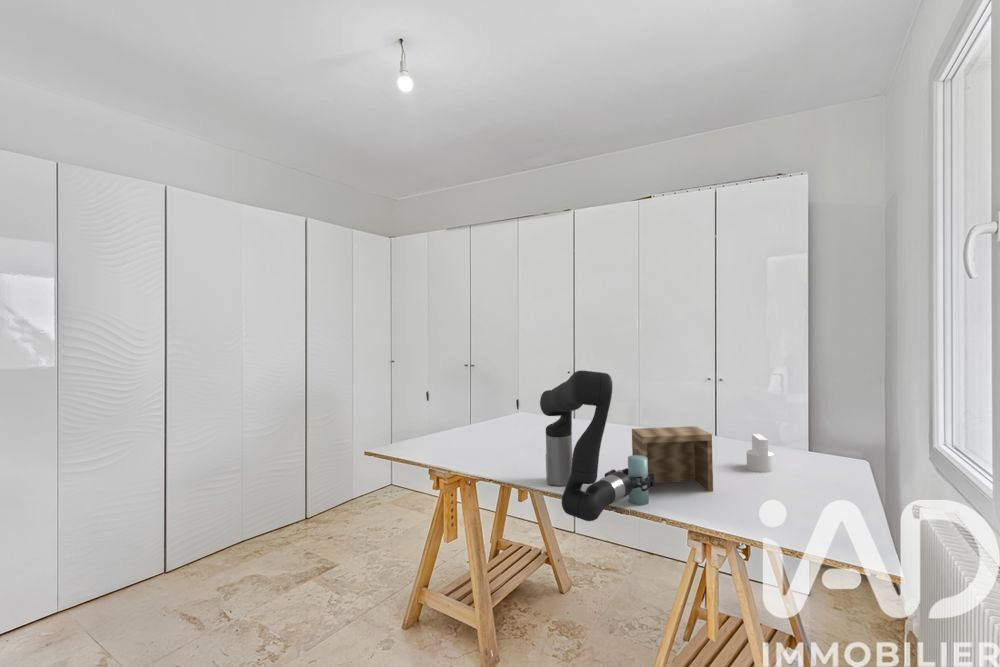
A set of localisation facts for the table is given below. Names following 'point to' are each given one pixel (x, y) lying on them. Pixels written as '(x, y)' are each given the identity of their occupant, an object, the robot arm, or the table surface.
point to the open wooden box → (676, 454)
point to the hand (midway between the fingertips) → (640, 473)
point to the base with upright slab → (760, 455)
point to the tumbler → (638, 467)
